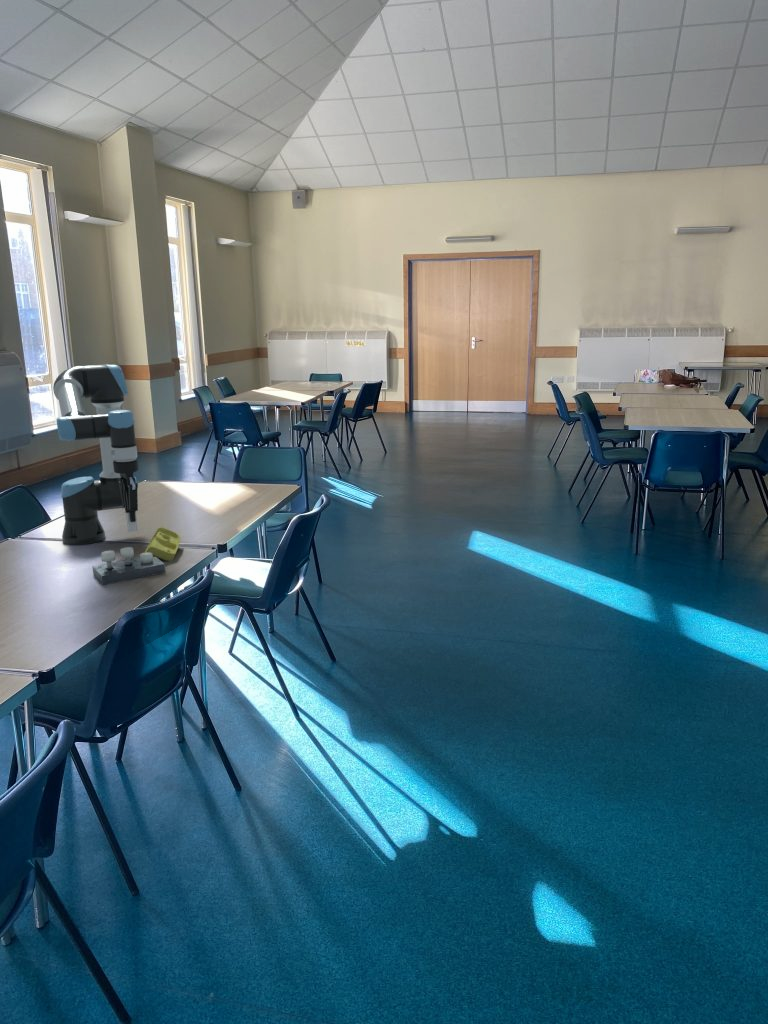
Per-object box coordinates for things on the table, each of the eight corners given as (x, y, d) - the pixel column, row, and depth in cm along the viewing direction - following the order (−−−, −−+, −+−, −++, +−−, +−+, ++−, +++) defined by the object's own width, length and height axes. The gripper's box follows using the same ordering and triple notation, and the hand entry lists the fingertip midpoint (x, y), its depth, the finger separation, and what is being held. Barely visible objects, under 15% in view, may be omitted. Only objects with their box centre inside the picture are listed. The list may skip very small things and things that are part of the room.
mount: (93, 574, 247) (92, 566, 246) (154, 563, 257) (153, 554, 257) (102, 585, 237) (101, 576, 236) (165, 572, 248) (164, 563, 247)
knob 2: (139, 568, 251) (138, 553, 250) (151, 566, 253) (150, 551, 252) (143, 572, 248) (141, 556, 246) (155, 569, 250) (153, 554, 248)
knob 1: (101, 567, 244) (99, 552, 242) (114, 565, 246) (112, 549, 245) (104, 570, 241) (103, 555, 239) (117, 568, 243) (115, 552, 241)
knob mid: (120, 564, 247) (118, 548, 246) (132, 561, 249) (131, 546, 248) (123, 567, 244) (122, 551, 242) (136, 564, 246) (134, 549, 245)
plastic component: (175, 555, 258) (146, 544, 256) (167, 573, 260) (139, 563, 258) (182, 534, 277) (156, 524, 274) (175, 551, 279) (149, 542, 276)
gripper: (107, 457, 242) (115, 528, 248) (119, 464, 232) (127, 537, 238) (130, 455, 246) (137, 524, 252) (143, 461, 236) (150, 533, 242)
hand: (132, 530), depth 245 cm, fingers closed
